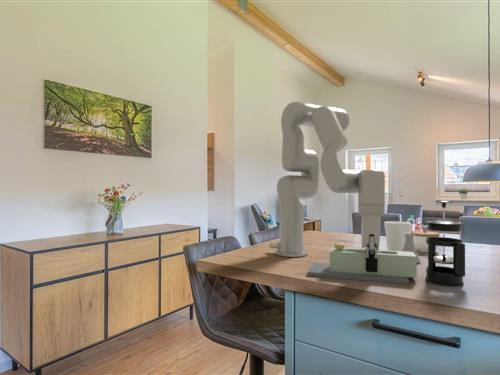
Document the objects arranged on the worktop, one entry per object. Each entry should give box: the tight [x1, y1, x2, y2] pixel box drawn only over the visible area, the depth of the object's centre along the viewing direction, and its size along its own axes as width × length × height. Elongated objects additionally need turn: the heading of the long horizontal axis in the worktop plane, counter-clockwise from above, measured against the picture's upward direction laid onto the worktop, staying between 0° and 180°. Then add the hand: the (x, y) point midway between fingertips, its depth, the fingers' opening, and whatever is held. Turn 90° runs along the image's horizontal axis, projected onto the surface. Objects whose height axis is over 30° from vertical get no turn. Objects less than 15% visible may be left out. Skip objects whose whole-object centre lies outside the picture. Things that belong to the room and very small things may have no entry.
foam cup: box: [383, 220, 412, 251], centre depth 129 cm, size 10×9×13 cm
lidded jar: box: [410, 228, 441, 253], centre depth 139 cm, size 11×11×9 cm
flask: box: [403, 233, 421, 264], centre depth 119 cm, size 7×7×10 cm
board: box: [307, 243, 410, 285], centre depth 102 cm, size 28×13×9 cm, turn 72°
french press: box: [425, 200, 466, 287], centre depth 93 cm, size 12×9×23 cm
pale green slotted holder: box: [329, 246, 418, 279], centre depth 101 cm, size 24×7×6 cm, turn 71°
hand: (371, 268), depth 101 cm, fingers closed on pale green slotted holder, 7 cm apart
